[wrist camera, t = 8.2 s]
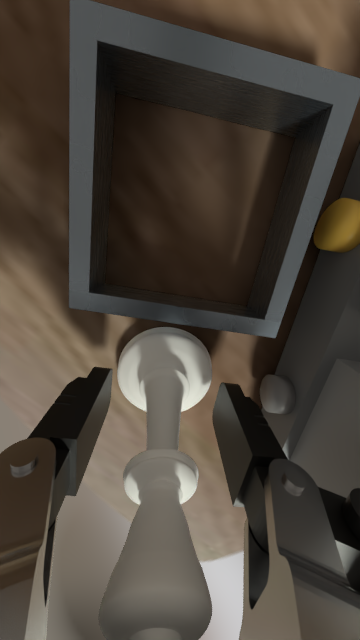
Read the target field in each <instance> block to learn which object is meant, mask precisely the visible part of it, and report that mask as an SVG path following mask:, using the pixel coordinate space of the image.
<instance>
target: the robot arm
mask: <svg viewBox="0 0 360 640" xmlns="http://www.w3.org/2000/svg"><path fill="white" fill-rule="evenodd" d="M111 385H112V369H109V368H101V367H94V368H93V369H92V371H91V372H90V374H89V375H88V377H87V378H82V377H78V378H76V379H75V380H73V381H72V382H70V383H69V384H68V385H67V386H66V387H65V389H64V390H63V391H62V393H61V395H60V396H59V397H58V398H57V399H56V401H55V403H54V404H53V405H52V406H51V407H50V409H49V410H48V411H47V413H46V414H45V416H44V417H43V418H42V420H41V421H40V422H39V424H38V425H37V426H36V428H35V429H34V430H33V432H32V433H31V434H30V436H29V437H28V438H27V439H25V440H22V441H19V442H17V443H15V444H13V445H11V446H10V447H8V448H7V449H5V450H4V451H3V452H2V453H1V454H0V640H46V634H47V615H48V603H49V594H50V584H51V575H52V565H53V556H54V546H55V537H56V527H57V515H58V512H59V510H60V507H61V505H62V503H63V501H64V498H65V496H66V495H70V496H76V494H77V491H78V489H79V486H80V483H81V481H82V478H83V476H84V473H85V470H86V468H87V465H88V462H89V460H90V457H91V454H92V452H93V449H94V446H95V444H96V441H97V438H98V436H99V433H100V430H101V428H102V425H103V422H104V420H105V417H106V414H107V412H108V408H109V404H110V397H111ZM213 426H214V430H215V434H216V438H217V442H218V446H219V450H220V454H221V458H222V463H223V467H224V471H225V475H226V479H227V483H228V487H229V491H230V495H231V500H232V504H233V506H236V507H245V511H246V514H247V519H246V521H245V524H244V597H243V598H244V599H243V619H242V626H241V631H240V636H239V640H360V488H355V489H353V490H352V491H351V492H350V494H349V495H348V497H347V498H345V497H343V496H340V495H338V494H335V493H333V492H330V491H328V490H325V489H323V488H320V487H318V486H317V485H316V483H315V481H314V480H313V478H312V477H311V476H310V475H309V474H308V473H307V472H306V471H305V470H304V469H303V468H302V467H300V466H299V465H297V464H296V463H294V462H292V461H289V460H288V458H287V457H286V455H285V453H284V451H283V449H282V448H281V446H280V444H279V442H278V440H277V439H276V437H275V435H274V433H273V431H272V430H271V428H270V426H268V422H267V421H266V419H265V418H264V415H263V413H262V411H261V410H260V408H259V406H258V405H257V404H256V403H255V402H254V401H253V400H252V399H251V398H250V397H245V396H244V394H243V392H242V390H241V388H240V386H239V385H238V384H230V383H221V384H220V387H219V391H218V394H217V398H216V401H215V405H214V409H213Z"/></svg>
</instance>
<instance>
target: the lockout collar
mask: <svg viewBox="0 0 360 640" xmlns="http://www.w3.org/2000/svg"><path fill="white" fill-rule="evenodd" d="M116 93H119V94H123V95H127V96H131V97H135V98H139V99H143V100H147V101H151V102H155V103H159V104H163V105H167V106H171V107H175V108H179V109H183V110H187V111H191V112H195V113H199V114H203V115H207V116H211V117H215V118H219V119H223V120H227V121H231V122H235V123H239V124H243V125H247V126H251V127H255V128H259V129H263V130H267V131H271V132H275V133H279V134H283V135H287V136H291V137H295V140H294V144H293V147H292V151H291V154H290V158H289V161H288V165H287V168H286V172H285V175H284V179H283V182H282V186H281V189H280V193H279V196H278V200H277V203H276V207H275V210H274V214H273V217H272V221H271V224H270V228H269V231H268V235H267V238H266V242H265V245H264V249H263V252H262V256H261V259H260V263H259V266H258V270H257V273H256V277H255V280H254V284H253V287H252V291H251V294H250V298H249V301H248V305H247V306H242V305H236V304H230V303H224V302H217V301H211V300H205V299H199V298H192V297H186V296H180V295H174V294H167V293H161V292H155V291H149V290H142V289H136V288H130V287H124V286H118V285H111V284H105V272H106V254H107V237H108V219H109V202H110V184H111V167H112V150H113V132H114V115H115V97H116ZM359 97H360V78H357V77H354V76H350V75H347V74H344V73H340V72H337V71H333V70H330V69H326V68H323V67H319V66H316V65H312V64H309V63H305V62H302V61H299V60H295V59H292V58H288V57H285V56H281V55H278V54H274V53H271V52H267V51H264V50H260V49H257V48H254V47H250V46H247V45H243V44H240V43H236V42H233V41H229V40H226V39H222V38H219V37H215V36H212V35H209V34H205V33H202V32H198V31H195V30H191V29H188V28H184V27H181V26H177V25H174V24H170V23H167V22H163V21H160V20H157V19H153V18H150V17H146V16H143V15H139V14H136V13H132V12H129V11H125V10H122V9H118V8H115V7H112V6H108V5H105V4H101V3H98V2H94V1H91V0H70V100H69V308H73V309H80V310H87V311H94V312H101V313H107V314H114V315H121V316H128V317H135V318H141V319H148V320H155V321H162V322H169V323H175V324H182V325H189V326H196V327H203V328H210V329H216V330H223V331H230V332H237V333H244V334H250V335H257V336H264V337H271V338H276V335H277V332H278V330H279V327H280V324H281V321H282V318H283V315H284V312H285V310H286V307H287V304H288V301H289V298H290V295H291V292H292V289H293V287H294V284H295V281H296V278H297V275H298V272H299V269H300V266H301V264H302V261H303V258H304V255H305V252H306V249H307V246H308V244H309V241H310V238H311V235H312V232H313V229H314V226H315V223H316V221H317V218H318V215H319V212H320V209H321V206H322V203H323V200H324V198H325V195H326V192H327V189H328V186H329V183H330V180H331V178H332V175H333V172H334V169H335V166H336V163H337V160H338V157H339V155H340V152H341V149H342V146H343V143H344V140H345V137H346V134H347V132H348V129H349V126H350V123H351V120H352V117H353V114H354V112H355V109H356V106H357V103H358V100H359Z"/></svg>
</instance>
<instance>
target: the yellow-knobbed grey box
mask: <svg viewBox="0 0 360 640" xmlns="http://www.w3.org/2000/svg"><path fill="white" fill-rule="evenodd" d="M314 243H315V245H316V247H317V248H319V249H321V250H320V252H319V255H318V258H317V261H316V263H315V266H314V269H313V271H312V274H311V277H310V280H309V282H308V285H307V288H306V290H305V293H304V296H303V299H302V301H301V304H300V307H299V309H298V312H297V315H296V317H295V320H294V323H293V326H292V328H291V331H290V334H289V336H288V339H287V342H286V345H285V347H284V350H283V353H282V355H281V358H280V361H279V364H278V366H277V369H276V372H275V374H274V375H266V376H265V377H264V378H263V380H262V382H261V386H260V399H261V403H262V405H263V407H262V410H261V411H262V413H263V415H264V418H265V419H266V421H267V422H268V426H270V428H271V430H272V431H273V433H274V435H275V437H276V439H277V440H278V442H279V444H280V446H281V448H282V449H283V451H284V453H285V455H286V457H287V458H288V460H289V461H292V462H294V463H296V464H297V465H299V466H300V467H302V468H303V469H304V470H305V471H306V472H307V473H308V474H309V475H310V476H311V477H312V478H313V480H314V481H315V483H316V485H317V486H318V487H320V488H323V489H325V490H328V491H330V492H333V493H335V494H338V495H340V496H343V497H345V498H347V497H348V495H349V494H350V492H351V491H352V490H353V489H355V488H360V144H359V147H358V150H357V152H356V155H355V158H354V160H353V163H352V166H351V169H350V171H349V174H348V177H347V179H346V182H345V185H344V187H343V190H342V193H341V196H340V198H339V199H338V200H336V201H335V202H333V203H332V204H331V205H330V206H329V207H328V208H327V209H326V210H325V211H324V213H323V214H322V216H321V217H320V219H319V221H318V223H317V225H316V228H315V232H314Z"/></svg>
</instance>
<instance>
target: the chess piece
mask: <svg viewBox="0 0 360 640" xmlns="http://www.w3.org/2000/svg"><path fill="white" fill-rule="evenodd" d="M117 377H118V383H119V386H120V389H121V391H122V392H123V394H124V395H125V397H126V398H127V399H128V400H129V401H130V402H131V403H132V404H133V405H135V406H136V407H138V408H140V409H142V410H144V411H146V412H147V451H144V452H141V453H139V454H138V455H136V456H135V457H133V458H132V459H131V460H130V461H129V462H128V464H127V465H126V467H125V470H124V475H123V478H124V488H125V491H126V493H127V495H128V496H129V498H130V499H131V500H132V501H134V502H135V503H137V504H139V505H140V506H139V508H138V510H137V513H136V515H135V517H134V519H133V522H132V524H131V527H130V530H129V533H128V537H127V540H126V542H125V545H124V547H123V550H122V553H121V555H120V557H119V560H118V562H117V564H116V566H115V568H114V570H113V572H112V575H111V578H110V580H109V583H108V585H107V588H106V591H105V593H104V596H103V599H102V602H101V606H100V610H99V625H100V628H101V631H102V633H103V635H104V637H105V638H106V640H198V639H199V638H200V637H201V636H202V635H203V634H204V632H205V631H206V629H207V627H208V625H209V623H210V620H211V616H212V604H211V598H210V594H209V590H208V586H207V583H206V580H205V577H204V573H203V570H202V567H201V565H200V563H199V560H198V558H197V555H196V552H195V549H194V546H193V543H192V540H191V536H190V532H189V527H188V524H187V521H186V518H185V515H184V512H183V510H182V507H181V504H182V503H184V502H186V501H187V500H188V499H189V498H191V496H192V495H193V494H194V492H195V490H196V488H197V481H198V477H199V472H198V468H197V465H196V463H195V462H194V461H193V459H192V458H190V457H189V456H188V455H186V454H185V453H183V452H181V451H178V444H179V429H180V418H181V412H182V411H185V410H187V409H189V408H191V407H193V406H194V405H195V404H197V403H198V402H199V401H200V400H201V399H202V398H203V397H204V395H205V394H206V392H207V391H208V389H209V386H210V383H211V379H212V365H211V359H210V355H209V353H208V351H207V349H206V347H205V346H204V345H203V343H202V342H201V341H200V340H199V339H198V338H196V337H195V336H194V335H192V334H191V333H189V332H187V331H184V330H181V329H178V328H173V327H158V328H152V329H149V330H146V331H144V332H142V333H140V334H138V335H136V336H135V337H134V338H133V339H131V340H130V341H129V342H128V343H127V345H126V346H125V347H124V349H123V351H122V353H121V355H120V359H119V364H118V370H117Z"/></svg>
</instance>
